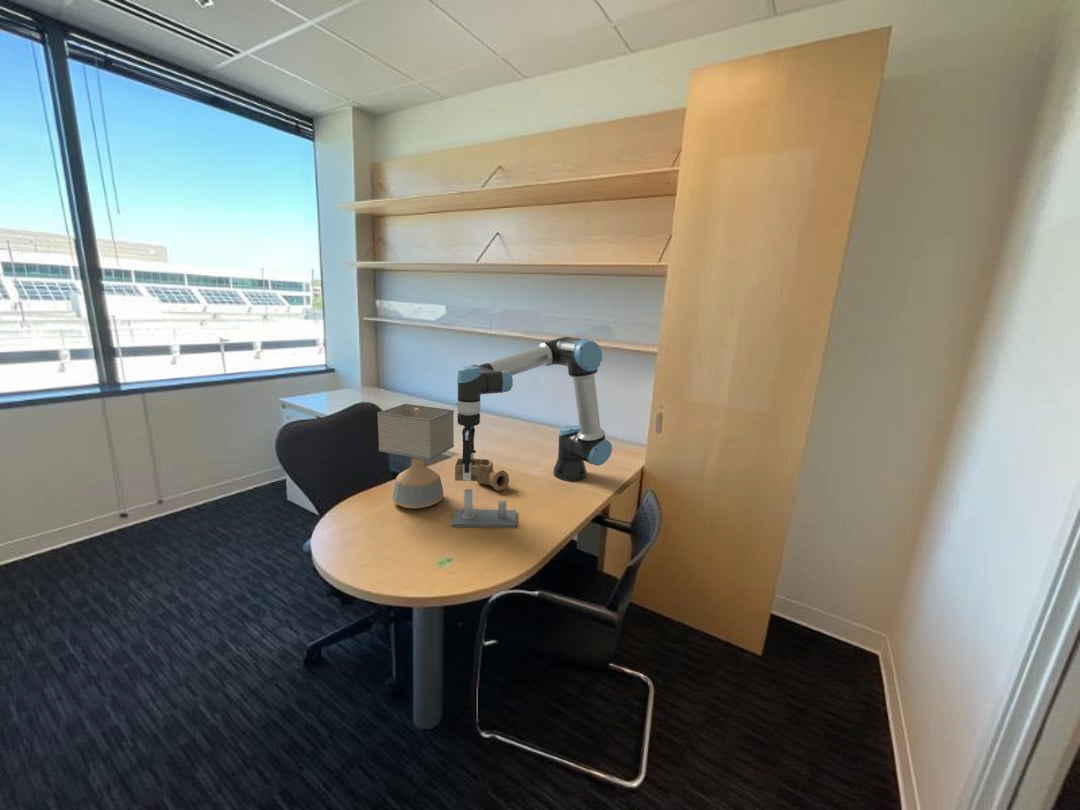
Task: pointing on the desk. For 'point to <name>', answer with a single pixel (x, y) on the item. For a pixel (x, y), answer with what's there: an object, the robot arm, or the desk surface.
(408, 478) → the desk lamp
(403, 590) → the desk surface
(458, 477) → the collar
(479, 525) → the post board
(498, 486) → the pipe
